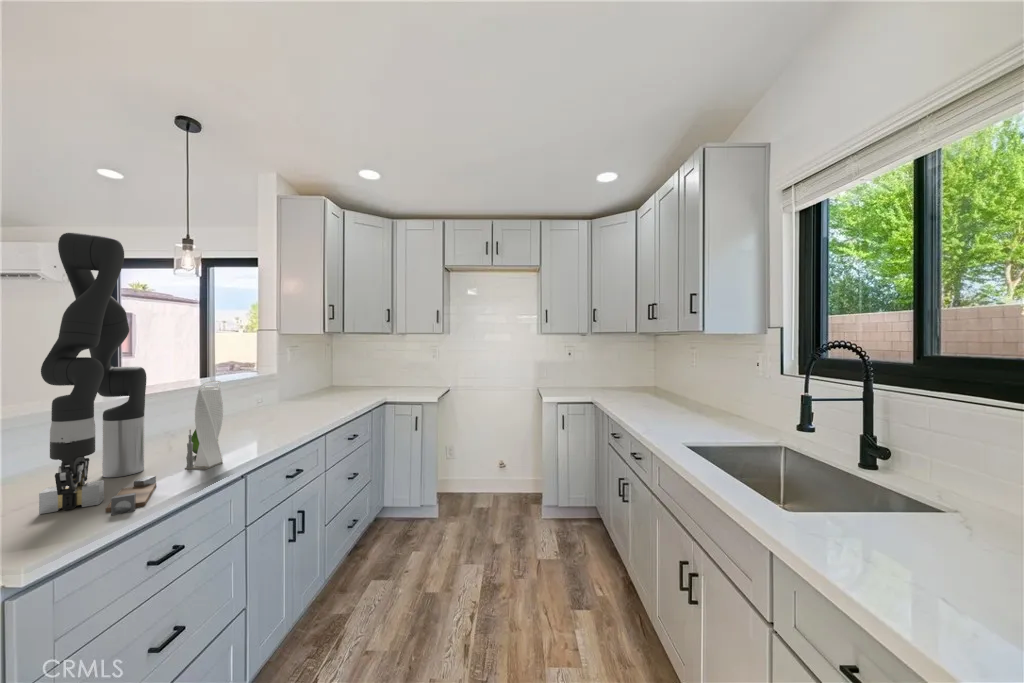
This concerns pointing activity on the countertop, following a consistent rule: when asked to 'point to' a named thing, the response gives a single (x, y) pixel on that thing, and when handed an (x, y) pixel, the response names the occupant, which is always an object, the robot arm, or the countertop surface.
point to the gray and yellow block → (85, 496)
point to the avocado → (195, 442)
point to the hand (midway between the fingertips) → (72, 505)
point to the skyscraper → (207, 428)
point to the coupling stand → (132, 496)
